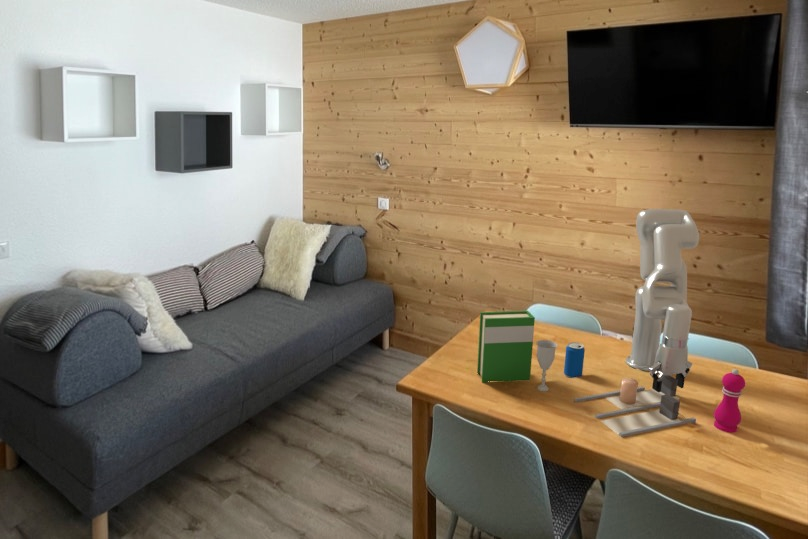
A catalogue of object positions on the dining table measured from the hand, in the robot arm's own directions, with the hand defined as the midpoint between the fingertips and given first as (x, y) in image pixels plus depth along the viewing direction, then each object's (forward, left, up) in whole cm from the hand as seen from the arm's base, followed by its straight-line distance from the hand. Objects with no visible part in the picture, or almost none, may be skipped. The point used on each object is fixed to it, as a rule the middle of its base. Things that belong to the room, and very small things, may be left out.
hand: (667, 388), depth 188 cm
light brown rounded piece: (+16, 0, -2) cm, 17 cm away
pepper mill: (-2, +22, -4) cm, 22 cm away
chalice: (+38, -16, -4) cm, 42 cm away
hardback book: (+45, -31, -4) cm, 55 cm away
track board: (+19, +6, -3) cm, 21 cm away
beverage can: (+20, -24, -4) cm, 32 cm away
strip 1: (+10, 0, -2) cm, 11 cm away
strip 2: (+21, +12, -2) cm, 25 cm away
